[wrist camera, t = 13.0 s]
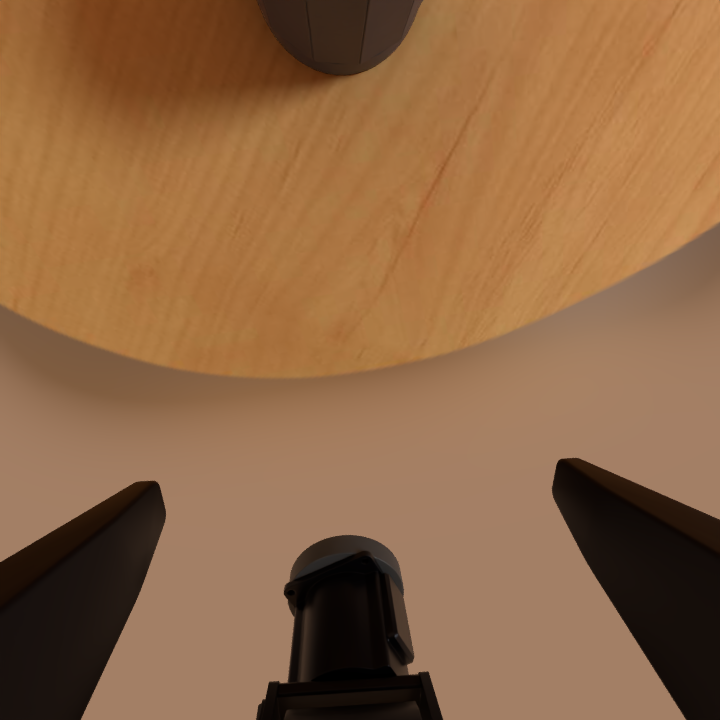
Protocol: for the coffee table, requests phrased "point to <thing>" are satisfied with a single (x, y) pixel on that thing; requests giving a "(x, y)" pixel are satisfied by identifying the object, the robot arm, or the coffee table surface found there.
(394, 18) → the pot
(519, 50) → the coffee table surface
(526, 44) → the coffee table surface
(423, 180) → the coffee table surface
